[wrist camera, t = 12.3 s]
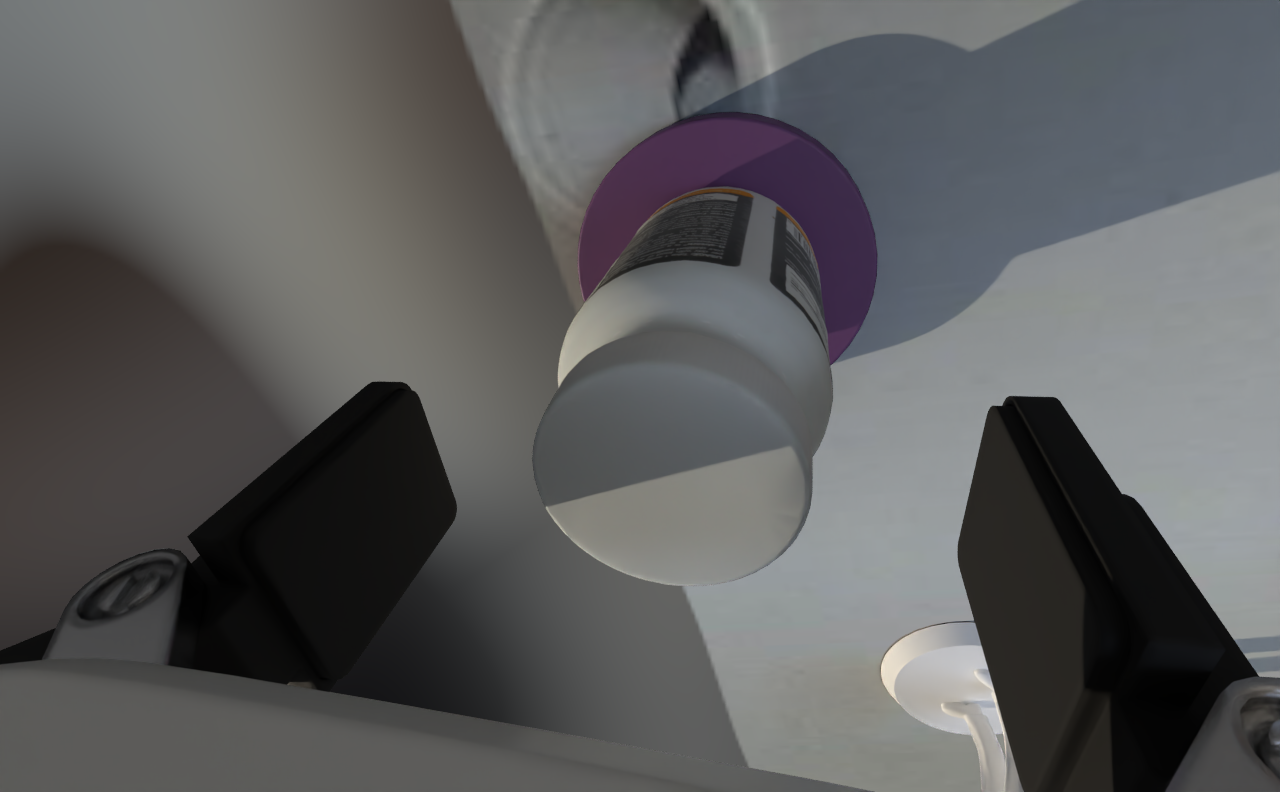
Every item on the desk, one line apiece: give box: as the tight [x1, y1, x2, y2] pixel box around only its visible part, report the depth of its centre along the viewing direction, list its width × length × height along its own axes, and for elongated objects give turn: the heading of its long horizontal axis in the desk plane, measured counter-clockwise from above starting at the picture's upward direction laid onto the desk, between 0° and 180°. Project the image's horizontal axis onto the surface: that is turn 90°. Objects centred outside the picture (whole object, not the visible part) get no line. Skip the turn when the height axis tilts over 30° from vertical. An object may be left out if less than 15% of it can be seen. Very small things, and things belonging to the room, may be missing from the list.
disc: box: [578, 112, 877, 365], centre depth 19 cm, size 9×9×1 cm
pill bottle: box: [532, 186, 833, 586], centre depth 14 cm, size 6×6×10 cm
